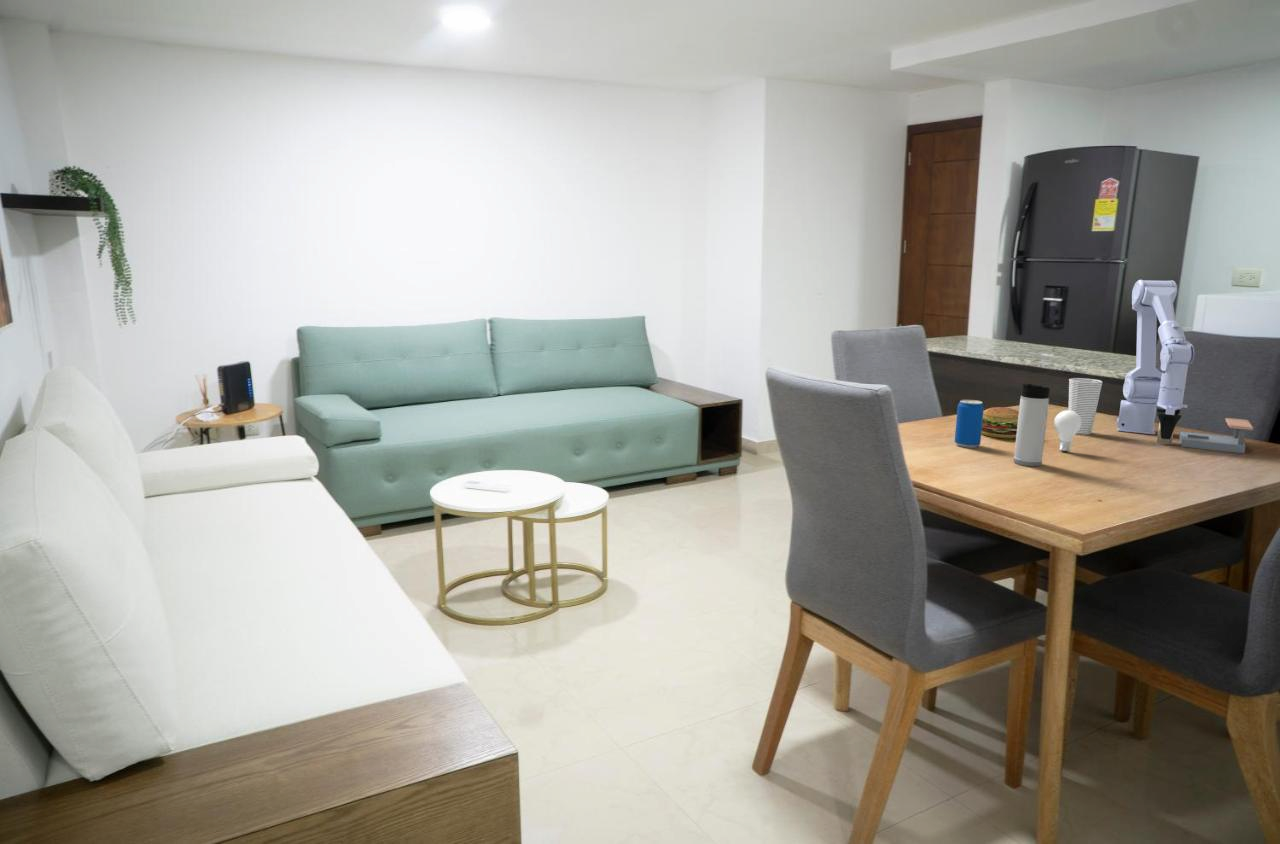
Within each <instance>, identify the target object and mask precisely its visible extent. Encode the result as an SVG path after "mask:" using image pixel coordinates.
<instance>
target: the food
mask: <svg viewBox="0 0 1280 844" xmlns="http://www.w3.org/2000/svg"><path fill="white" fill-rule="evenodd" d="M1018 416H1019V410H1016V409H1013V408H1011V407H1002V406H997V407H996V406H995V407H990V408H987V409H985V410H984V411H983V421H982V432H981V436H982V435H983V436H985V437H988V438H989V437H990V438H995V439H1004V440H1005V439H1006V440H1007V439H1008V440H1014V439H1015V440H1016V434H1017V425H1018Z"/></svg>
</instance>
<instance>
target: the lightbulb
mask: <svg viewBox="0 0 1280 844" xmlns="http://www.w3.org/2000/svg"><path fill="white" fill-rule="evenodd" d="M1053 424H1054V425H1053V426H1054V427H1055V429H1056V431H1057V434H1058V439H1059V446H1058V447H1059V448H1058V449H1059V450H1060V451H1061V452H1062V453H1066V452H1070V451H1071V448H1072V447H1071V446H1072V442H1073V440H1074V438H1075V437H1074V436H1075V435H1077V434H1076V433H1077V431H1078V430H1079V429H1080V427H1081V424H1082V421H1081V418H1080V416H1079V415H1078V414H1077V413H1076V412H1074V411H1071V410H1068V409H1067V410H1062V411H1060V412H1059V413H1057V414H1056V415H1055V417H1054V422H1053Z"/></svg>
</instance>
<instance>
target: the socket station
mask: <svg viewBox="0 0 1280 844" xmlns="http://www.w3.org/2000/svg"><path fill="white" fill-rule="evenodd" d="M1224 420H1225V423H1226V424H1227V426H1228V427H1229V428H1230V429H1234V432H1233V436H1231V435H1224V434H1223V435H1222V434H1221V435H1220V434H1211V433H1203V432H1202V433H1201V432H1193V431H1182V430H1180V432H1179V437H1178V438H1180V439H1179V442H1180V446H1181V447H1182V448H1191V449H1192V448H1193V449H1199V450H1200V449H1201V450H1209V451H1210V450H1211V451H1217V452H1218V451H1219V452H1227V453H1228V452H1229V453H1238V454H1245V452H1246V444H1245V443H1244V442H1245V438H1246V431H1248V430H1249V431H1253V430H1254V427H1253V426H1252V424H1251V423H1250V421H1249V420H1248V419H1241V418H1230V417H1225V419H1224Z"/></svg>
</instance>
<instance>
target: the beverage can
mask: <svg viewBox="0 0 1280 844" xmlns="http://www.w3.org/2000/svg"><path fill="white" fill-rule="evenodd" d="M984 409H985V407H984V405H983V402H982V401H981V400H975V399H961V400H960V401H959V403H957V409H956V410H957V411H956V412H957V413H956V422H955V430H954V431H955V433H954V444H956V445H957V446H958V447H961V448H967V449H968V448H970V449H973V448H978V446H980V445H981V439H982V434H981V432H982V421H983V412H984V411H985V410H984Z"/></svg>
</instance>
